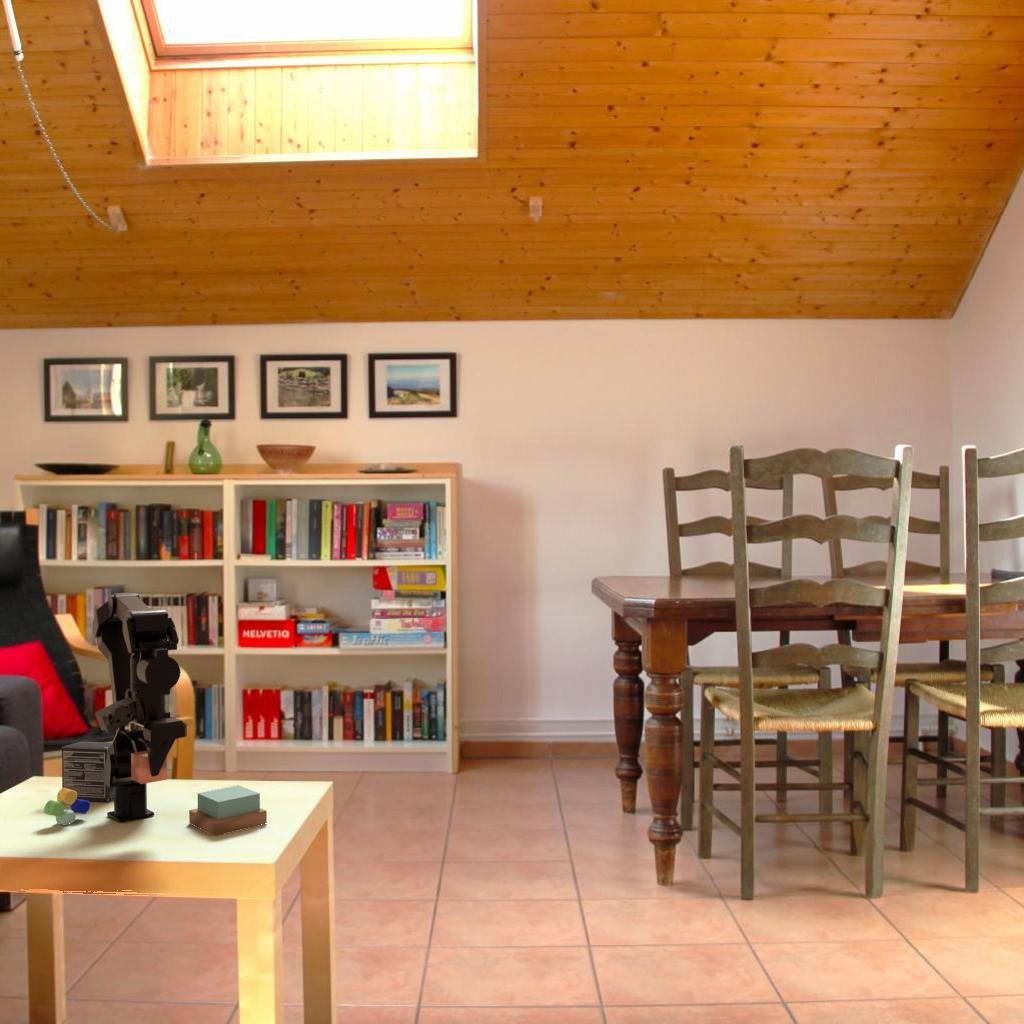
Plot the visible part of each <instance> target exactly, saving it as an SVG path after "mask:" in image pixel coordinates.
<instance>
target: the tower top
mask: <svg viewBox="0 0 1024 1024" xmlns="http://www.w3.org/2000/svg"><path fill="white" fill-rule="evenodd" d="M260 797H261V793H259V792H257V791H254V790H251V789H249V788H246V787H244V786H241V785H233V786H228V787H223V788H217V789H214V790H207V791H201V792H199V793H197V809H198V810H199V811H201V812H203V813H205V814H208V815H210V816H212V817H215V818H217V819H222V818H227V817H232V816H236V815H241V814H245V813H250V812H254V811H259V810H260V808H261V798H260Z"/></svg>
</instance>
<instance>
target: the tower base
mask: <svg viewBox="0 0 1024 1024" xmlns="http://www.w3.org/2000/svg"><path fill="white" fill-rule="evenodd" d="M188 814H189V815H188V818H189V819H188V821H189V822H188V823H191V824H193V825H195V826H197V827H199V828H201V829H202V830H201V829H200V830H201V831H203V830H204V832H205V831H206V832H205V833H207V832H208V833H207V834H209V833H210V834H209V835H211V834H212V835H211V836H213V835H214V836H213V837H216V836H215V835H217V836H220V835H219V834H221V835H225V834H224V833H226V834H228V832H230V833H233V832H232V831H234V832H237V831H236V830H239V831H241V830H240V829H243V830H245V829H244V828H247V829H249V828H248V827H252V828H254V827H253V826H256V827H258V826H257V825H261V824H265V823H267V824H268V821H267V820H268V819H267V817H268V816H267V815H268V814H267V810H266V809H264V808H262V807H260V810H259V811H254V812H250V813H245V814H241V815H236V816H232V817H227V818H222V819H217V818H215V817H212V816H210V815H208V814H205V813H203V812H201V811H199V810H198V808H194V809H190V810H189V812H188ZM191 824H190V825H191ZM193 825H192V826H193ZM265 825H266V824H265ZM195 826H194V827H195ZM261 826H262V825H261ZM197 827H196V828H197ZM199 828H198V829H199Z"/></svg>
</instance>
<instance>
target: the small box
mask: <svg viewBox="0 0 1024 1024" xmlns="http://www.w3.org/2000/svg"><path fill="white" fill-rule="evenodd" d="M111 744H112V742H110V741H109V742H105V741H78V742H74V743H71V744H67V745H64V746H63V745H62V747H61V772H62V773H61V776H62V777H61V781H62V783H61V787H62V788H67V789H70V790H73V791H76V792H77V799H81V800H86V801H89V802H95V801H97V803H99V802H100V803H109V802H111V801H114V787H112V788H109V787H108V786H107V785H106V784H105V783H104V774H103V771H104V767H105V763H106V759H107V755H108V754H109V748H110V746H111ZM113 778H115V776H113ZM62 788H61V789H62Z"/></svg>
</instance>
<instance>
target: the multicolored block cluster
mask: <svg viewBox="0 0 1024 1024" xmlns="http://www.w3.org/2000/svg"><path fill="white" fill-rule="evenodd" d="M65 804H67V805H70V809H66V807H65V806H66V805H65ZM90 808H91V805H90V801H86V800H81V799H77V792H76V791H73V790H70V789H67V788H60V789H59V790H58V792H57V795H56V800H52V799H49V800H48V801H47V802H46V803H45V805H44V809H43V811H44V814H45V815H48V816H54V817H55V822H56V823H57V824H58V825H59V824H69V823H72V824H73V823H74V822H75V820H76V818H77V816H76V814H81V815H86V814H87V813H88V812H89V810H90ZM69 825H70V824H69Z"/></svg>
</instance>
